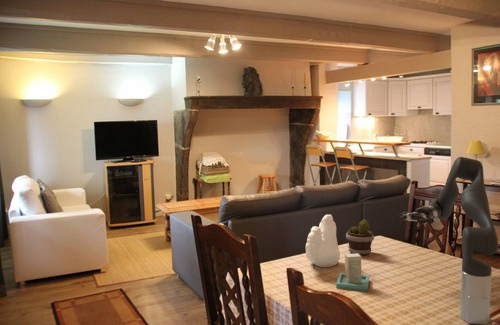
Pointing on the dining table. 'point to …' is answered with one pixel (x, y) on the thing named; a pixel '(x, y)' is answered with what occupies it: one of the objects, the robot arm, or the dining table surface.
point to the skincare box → (353, 268)
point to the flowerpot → (360, 239)
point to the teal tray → (358, 286)
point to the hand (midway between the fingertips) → (410, 220)
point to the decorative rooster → (323, 243)
